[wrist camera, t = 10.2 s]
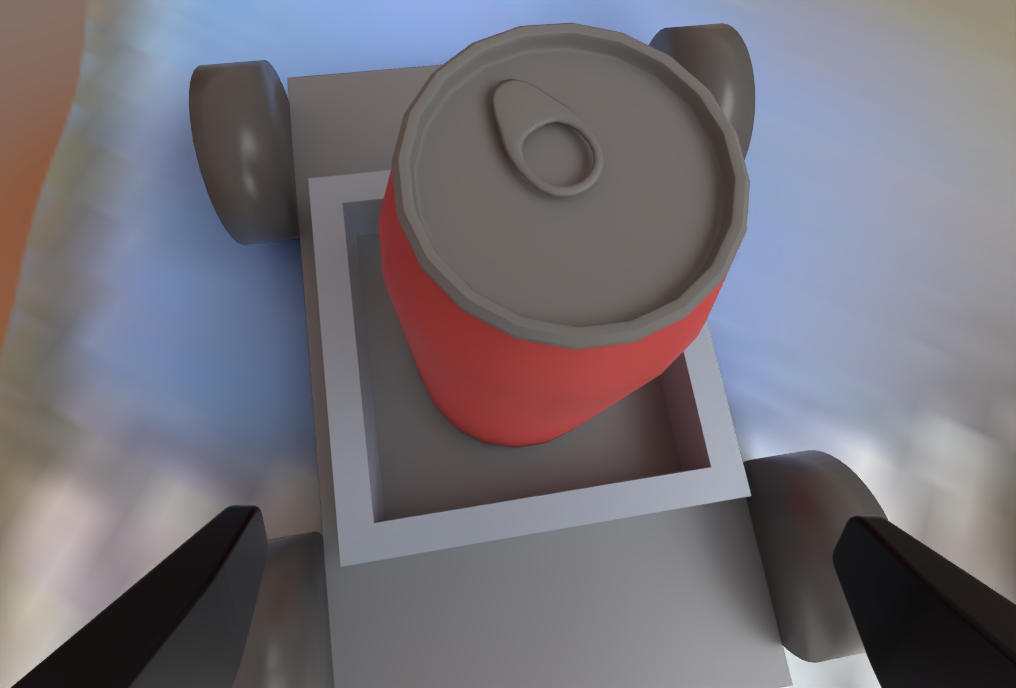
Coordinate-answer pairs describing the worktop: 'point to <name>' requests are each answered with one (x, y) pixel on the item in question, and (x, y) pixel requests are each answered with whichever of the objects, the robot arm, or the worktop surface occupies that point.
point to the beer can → (557, 226)
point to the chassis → (506, 456)
